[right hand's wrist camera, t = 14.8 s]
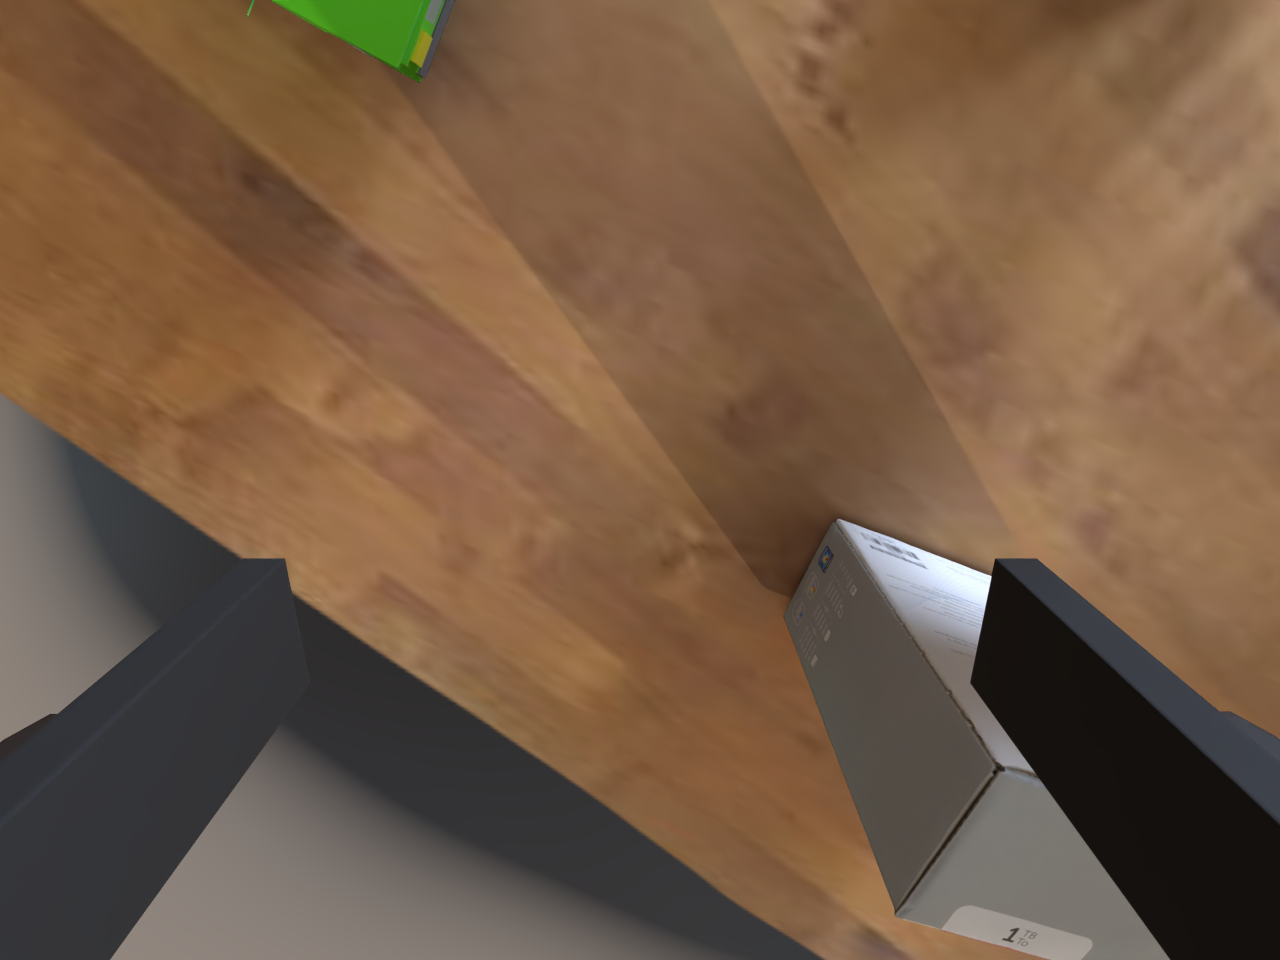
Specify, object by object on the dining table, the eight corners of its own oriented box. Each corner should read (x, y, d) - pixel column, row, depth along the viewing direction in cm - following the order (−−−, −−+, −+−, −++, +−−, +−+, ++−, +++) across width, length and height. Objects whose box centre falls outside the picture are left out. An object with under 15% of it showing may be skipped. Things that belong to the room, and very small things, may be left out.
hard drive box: (778, 617, 43) (884, 917, 24) (833, 513, 41) (998, 758, 22) (991, 690, 45) (1241, 1020, 26) (1056, 596, 42) (1383, 885, 24)
